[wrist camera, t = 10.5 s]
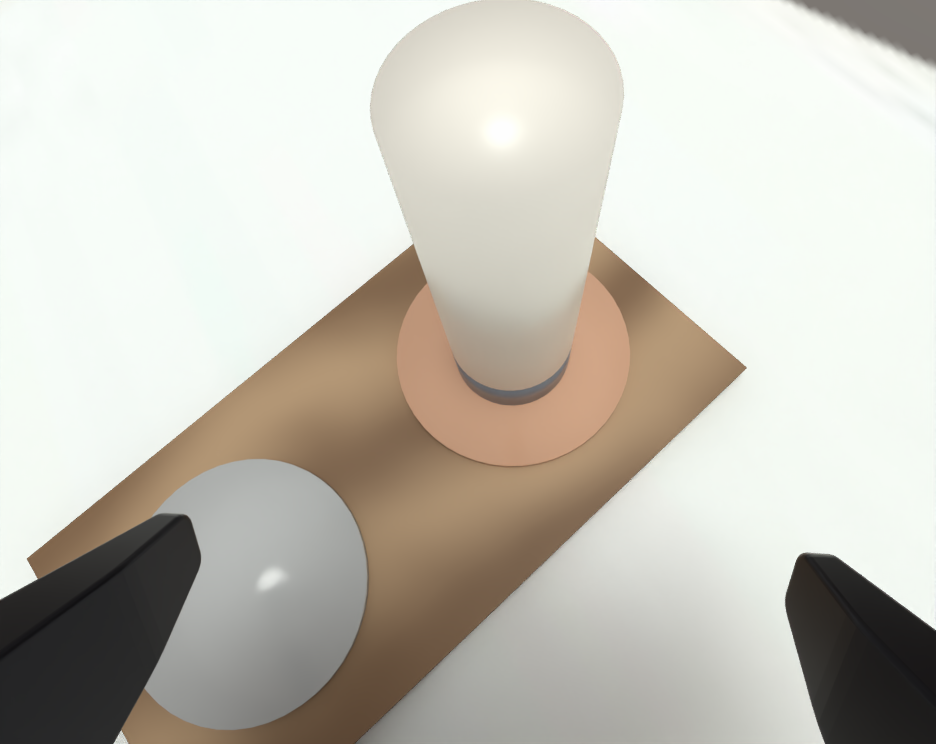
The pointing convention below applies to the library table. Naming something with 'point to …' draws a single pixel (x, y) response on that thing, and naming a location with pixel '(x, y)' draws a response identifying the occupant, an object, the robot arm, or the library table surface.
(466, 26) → the frosted light bulb
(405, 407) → the walnut board
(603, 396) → the terracotta coaster
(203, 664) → the grey coaster
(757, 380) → the library table surface
